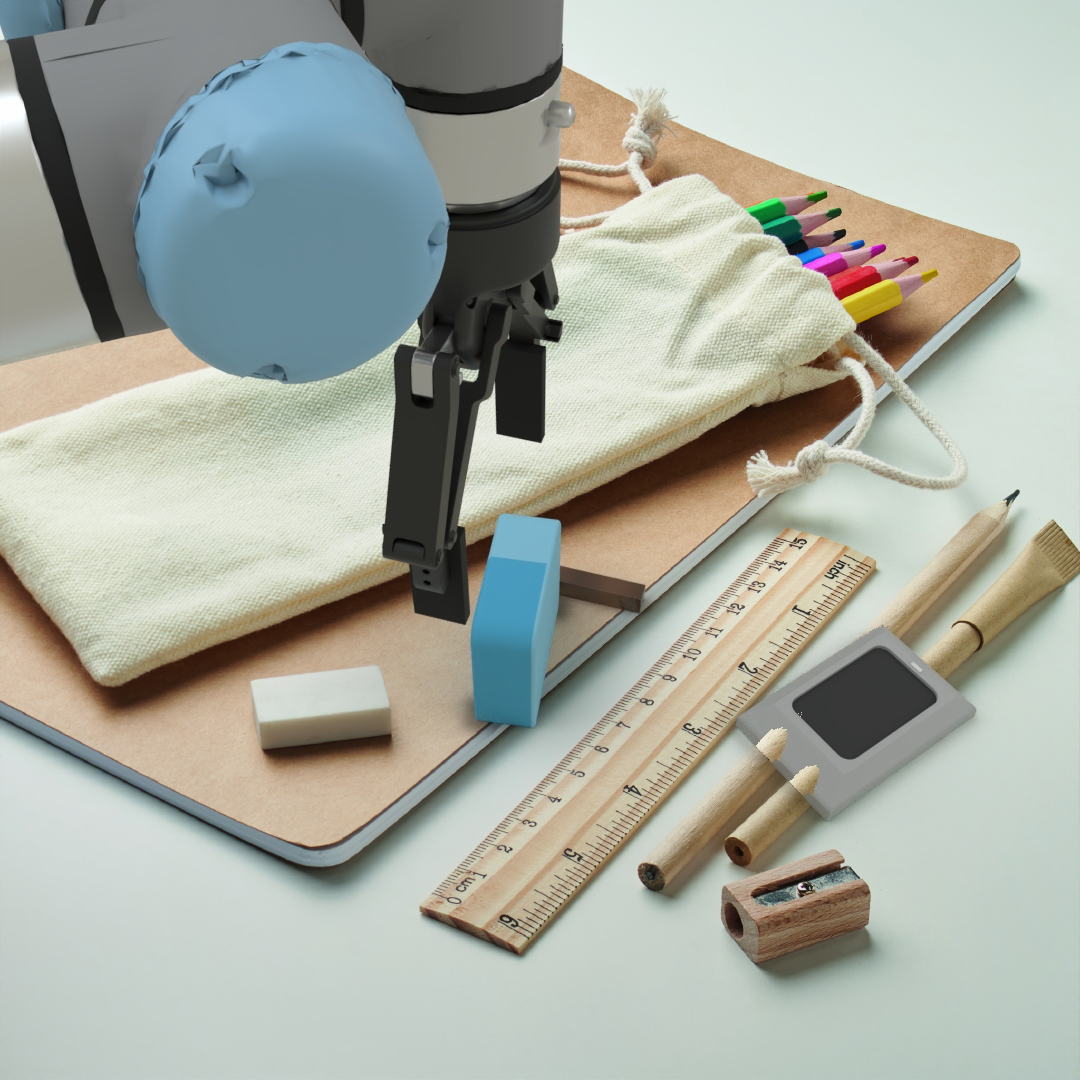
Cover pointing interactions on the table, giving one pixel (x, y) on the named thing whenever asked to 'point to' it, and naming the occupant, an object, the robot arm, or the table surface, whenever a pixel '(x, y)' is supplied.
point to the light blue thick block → (515, 619)
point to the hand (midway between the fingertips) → (484, 518)
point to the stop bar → (601, 589)
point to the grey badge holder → (858, 718)
